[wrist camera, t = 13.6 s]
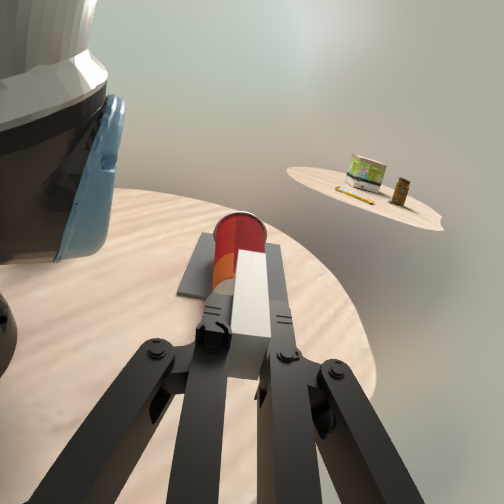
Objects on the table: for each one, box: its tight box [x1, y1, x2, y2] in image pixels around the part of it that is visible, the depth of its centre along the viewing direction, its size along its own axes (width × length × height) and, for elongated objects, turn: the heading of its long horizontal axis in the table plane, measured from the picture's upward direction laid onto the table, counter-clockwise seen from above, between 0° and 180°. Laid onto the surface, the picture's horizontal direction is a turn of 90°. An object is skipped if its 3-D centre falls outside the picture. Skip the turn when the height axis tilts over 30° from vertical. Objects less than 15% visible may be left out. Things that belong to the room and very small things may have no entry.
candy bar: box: [335, 187, 372, 203], centre depth 102 cm, size 17×4×2 cm, turn 49°
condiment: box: [388, 178, 410, 208], centre depth 108 cm, size 7×8×12 cm
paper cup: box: [213, 211, 267, 295], centre depth 36 cm, size 8×8×14 cm
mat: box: [177, 232, 289, 307], centre depth 42 cm, size 18×14×1 cm
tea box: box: [345, 154, 386, 193], centre depth 122 cm, size 15×10×15 cm, turn 96°
